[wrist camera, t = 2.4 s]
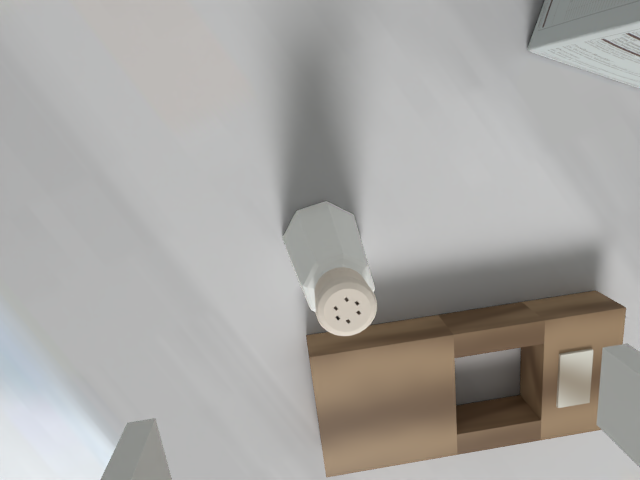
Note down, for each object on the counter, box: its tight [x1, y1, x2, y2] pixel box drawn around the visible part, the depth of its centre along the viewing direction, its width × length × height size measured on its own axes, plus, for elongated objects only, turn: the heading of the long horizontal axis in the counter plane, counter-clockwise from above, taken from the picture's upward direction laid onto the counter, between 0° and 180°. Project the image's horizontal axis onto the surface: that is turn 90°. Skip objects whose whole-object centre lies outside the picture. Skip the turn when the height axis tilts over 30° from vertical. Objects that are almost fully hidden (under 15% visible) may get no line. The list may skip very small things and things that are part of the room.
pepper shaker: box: [282, 201, 377, 336], centre depth 25 cm, size 5×5×11 cm
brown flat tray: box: [306, 291, 626, 477], centre depth 33 cm, size 10×22×3 cm, turn 97°
